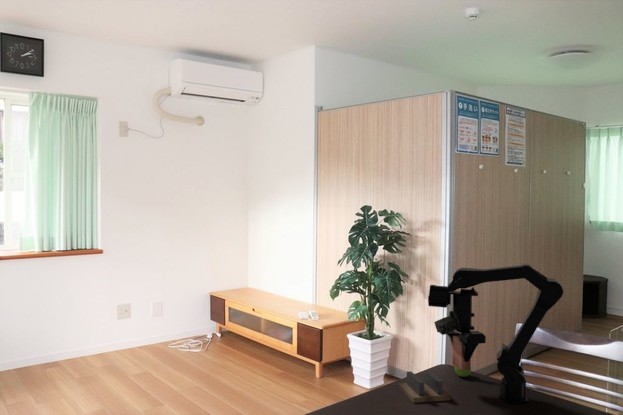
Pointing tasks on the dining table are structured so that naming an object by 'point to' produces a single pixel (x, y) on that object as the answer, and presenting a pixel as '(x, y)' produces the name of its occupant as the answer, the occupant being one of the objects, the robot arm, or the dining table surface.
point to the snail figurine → (462, 371)
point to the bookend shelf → (424, 388)
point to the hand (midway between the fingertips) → (461, 358)
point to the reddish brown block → (459, 355)
